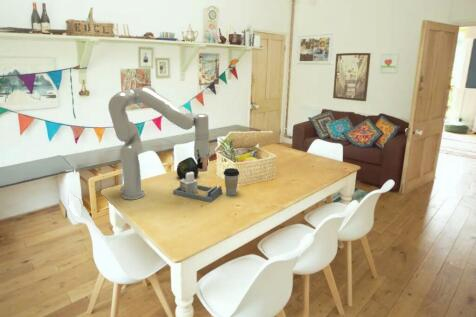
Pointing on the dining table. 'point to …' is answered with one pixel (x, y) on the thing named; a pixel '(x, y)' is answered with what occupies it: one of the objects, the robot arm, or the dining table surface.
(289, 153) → the dining table surface
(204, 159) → the jar
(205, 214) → the dining table surface
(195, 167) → the squash
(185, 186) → the container
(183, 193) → the tray
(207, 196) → the pusher
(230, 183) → the coffee cup
